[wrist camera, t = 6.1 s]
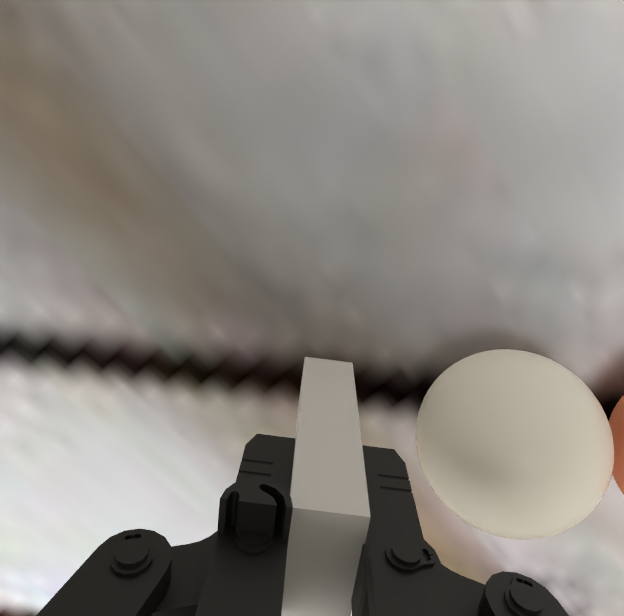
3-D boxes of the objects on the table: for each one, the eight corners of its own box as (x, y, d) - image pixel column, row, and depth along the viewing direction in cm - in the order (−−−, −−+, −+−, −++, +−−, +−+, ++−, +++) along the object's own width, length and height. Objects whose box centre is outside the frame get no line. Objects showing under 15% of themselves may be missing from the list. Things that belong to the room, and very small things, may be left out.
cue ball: (593, 618, 12) (557, 490, 18) (683, 437, 11) (615, 352, 16) (385, 538, 14) (408, 440, 19) (435, 366, 12) (445, 308, 17)
